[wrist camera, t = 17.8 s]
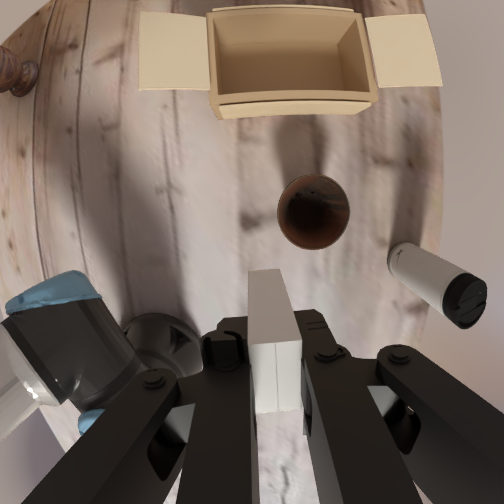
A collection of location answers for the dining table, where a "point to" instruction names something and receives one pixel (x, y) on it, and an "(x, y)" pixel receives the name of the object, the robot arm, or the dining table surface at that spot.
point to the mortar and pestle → (16, 73)
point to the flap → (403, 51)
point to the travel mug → (439, 283)
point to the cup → (313, 212)
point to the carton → (288, 61)
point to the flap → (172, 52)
